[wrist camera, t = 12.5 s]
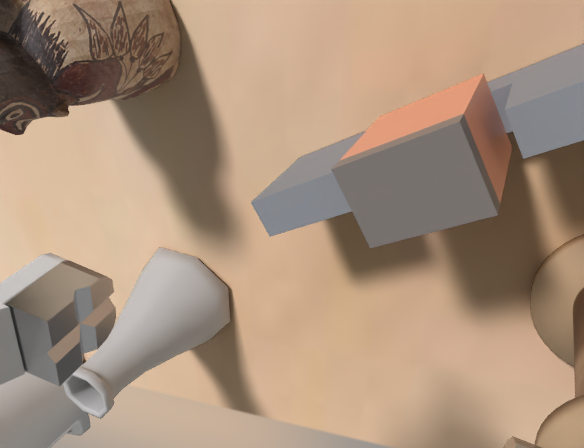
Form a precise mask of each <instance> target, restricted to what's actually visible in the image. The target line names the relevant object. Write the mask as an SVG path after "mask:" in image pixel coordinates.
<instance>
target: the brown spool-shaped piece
mask: <svg viewBox="0 0 584 448" xmlns="http://www.w3.org/2000/svg"><path fill="white" fill-rule="evenodd" d="M530 310H531V317H532V321H533V324H534V327H535V329H536V331H537V333H538V335H539V336H540V338H541V339H542V340H543V342H544V343H545V344H546V345H547V346H548V348H549V349H550V350H551V351H552V352H554V353H555V354H556V355H557V356H558V357H559V358H561V359H562V360H564V361H565V362H567V363H568V364H570V365H572V366H574V372H575V398H574V399H572V400H570V401H568V402H566V403H564V404H563V405H561V406H560V407H558V408H556V409H555V410H554V411H553V412H552V413H551V414H550V415H549V416H548V417H547V418H546V419H545V421H544V422H543V423H542V424H541V427H540V429H539V431H538V433H537V436H536V440H535V445H536V446H539V447H542V448H584V235H581V236H579V237H576V238H574V239H572V240H570V241H568V242H567V243H565V244H563V245H562V246H560V247H559V248H558V249H556V250H555V251H554V252H553V253H552V254H551V255H549V256H548V257H547V259H546V260H545V261H544V262H543V263H542V265H541V266H540V268H539V270H538V271H537V273H536V276H535V278H534V281H533V284H532V289H531V300H530Z"/></svg>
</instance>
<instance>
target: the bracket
mask: <svg viewBox="0 0 584 448" xmlns="http://www.w3.org/2000/svg"><path fill="white" fill-rule="evenodd" d="M487 84H488V86H489V89H490V91H491V94H492V97H493V99H494V102H495V104H496V107H497V110H498V112H499V115H500V117H501V120H502V123H503V125H504V128H505V130H506V133H509V132H512V131H513V133H514V136H515V138H516V141H517V144H518V146H519V149H520V152H521V154H522V157H523V159H524V158H528V157H531V156H534V155H537V154H541V153H544V152H547V151H550V150H554V149H557V148H560V147H563V146H567V145H570V144H573V143H576V142H580V141H583V140H584V44H582V45H580V46H577V47H575V48H572V49H570V50H567V51H565V52H562V53H560V54H557V55H555V56H552V57H550V58H547V59H545V60H542V61H540V62H537V63H535V64H532V65H530V66H527V67H525V68H522V69H520V70H517V71H515V72H512V73H510V74H507V75H505V76H502V77H500V78H497V79H495V80H492V81H490V82H487ZM365 132H366V131H365ZM365 132H362V133H360V134H357V135H355V136H352V137H350V138H347V139H345V140H342V141H340V142H337V143H335V144H332V145H330V146H327V147H325V148H322V149H320V150H317V151H315V152H312V153H310V154H307V155H305V156H302V157H300V158H299V159H298V160H297V161H295V162H294V163H293V164H292V165H291V166H290V167H289V168H288V169H287V170H286V171H284V172H283V173H282V174H281V175H280V176H279V177H278V178H277V179H276V180H275V181H274V182H272V183H271V184H270V185H269V186H268V187H267V188H266V189H265V190H264V191H263V192H262V193H260V194H259V195H258V196H257V197H256V198H255V199H254V200H253V201H252V202H251V203H252V205H253V207H254V209H255V211H256V212H257V214H258V216H259V218H260V220H261V222H262V223H263V225H264V227H265V229H266V231H267V232H268V234H269V236H273V235H277V234H280V233H283V232H287V231H290V230H293V229H296V228H300V227H303V226H306V225H309V224H313V223H316V222H319V221H322V220H326V219H329V218H332V217H335V216H339V215H342V214H345V213H348V212H352V211H351V209H350V207H349V205H348V202H347V200H346V198H345V196H344V194H343V192H342V190H341V188H340V186H339V184H338V182H337V180H336V178H335V176H334V174H333V172H332V170H331V169H332V168H333V167H334V166H335V165H336V164H337V162H338V161H339V160H340V159H341V158H342V157H343V156H344V155H345V154H346V153H347V152H348V150H349V149H350V148H351V147H352V146H353V145H354V144H355V143H356V142H357V141H358V140H359V138H360V137H361V136H362V135H363V134H364V133H365Z"/></svg>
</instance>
